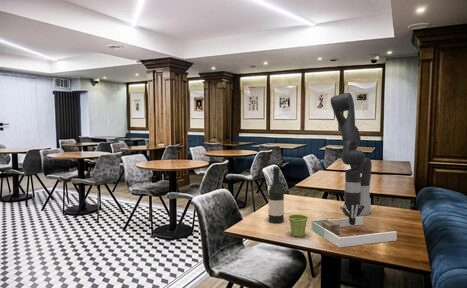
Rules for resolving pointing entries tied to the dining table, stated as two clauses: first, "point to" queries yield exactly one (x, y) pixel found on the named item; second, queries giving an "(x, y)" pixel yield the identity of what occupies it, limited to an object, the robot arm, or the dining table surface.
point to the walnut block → (332, 227)
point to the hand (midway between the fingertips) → (352, 224)
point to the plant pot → (298, 224)
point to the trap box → (351, 240)
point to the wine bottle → (276, 200)
